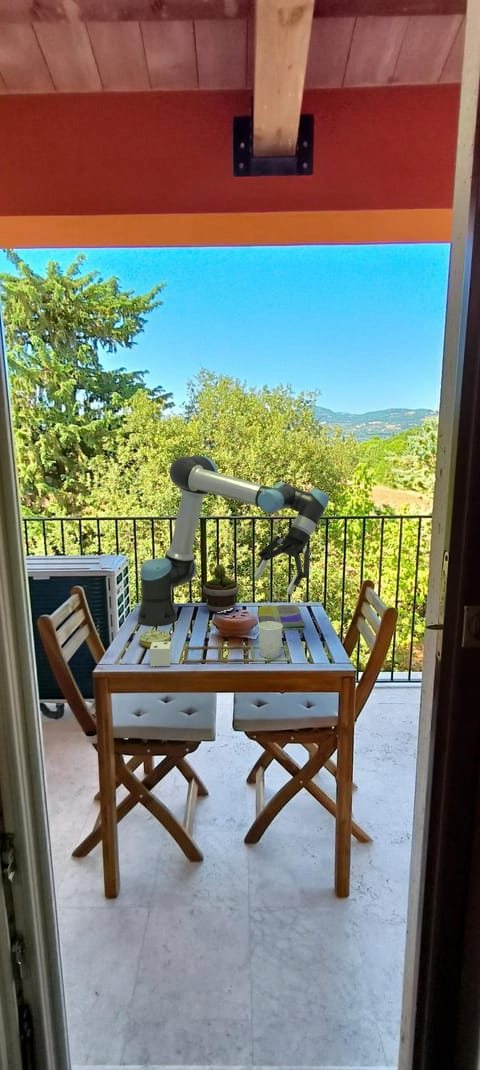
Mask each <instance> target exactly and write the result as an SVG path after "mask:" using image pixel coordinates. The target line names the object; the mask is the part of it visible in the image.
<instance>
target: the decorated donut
mask: <svg viewBox="0 0 480 1070" xmlns="http://www.w3.org/2000/svg"><path fill="white" fill-rule="evenodd" d="M138 638H139V639H138V640H139V643H140V645H141V646H142V647H143V648H147V649H150V647H151V644H152V642H170V640H171V635H170V633H168V632H166V631H163V630H147V631H145V632H143V633H142V634H140V635H139V637H138Z"/></svg>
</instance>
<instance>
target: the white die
mask: <svg viewBox="0 0 480 1070" xmlns="http://www.w3.org/2000/svg"><path fill="white" fill-rule="evenodd" d="M149 660H150V661H149V662H150V664H149V665H150V666H149V667H150V668H155V667H154V666H170V667H171V664H170V663H172V660H173V659H172V641H169V642H152V644H151V647H150V648H149ZM152 666H153V667H152Z"/></svg>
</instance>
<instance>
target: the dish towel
mask: <svg viewBox="0 0 480 1070" xmlns="http://www.w3.org/2000/svg"><path fill="white" fill-rule="evenodd" d="M257 615H258V621H259V624H260V623H262V622H267V621H273V622H278V623H281V624H282V625H283V628H282V631H305V627H306V623H305V621H304V619H303V616H302V613H301V609H300V607H298V606H297V605H296V604H293V605H292V604H290V605H286V604H284V605H283V604H281V605H262V606H259V607H258V608H257Z"/></svg>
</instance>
